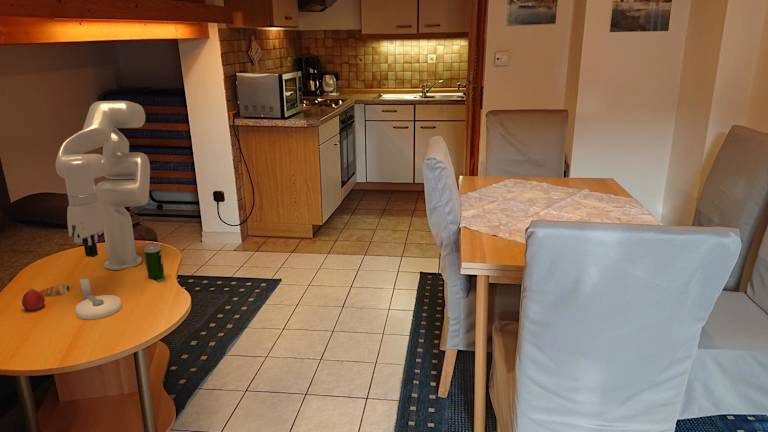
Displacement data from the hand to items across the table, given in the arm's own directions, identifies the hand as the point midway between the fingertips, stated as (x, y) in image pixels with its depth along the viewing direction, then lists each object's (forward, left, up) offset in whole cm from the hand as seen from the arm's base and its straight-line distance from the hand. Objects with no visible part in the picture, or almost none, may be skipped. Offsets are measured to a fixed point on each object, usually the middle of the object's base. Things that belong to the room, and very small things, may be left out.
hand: (92, 255), depth 170 cm
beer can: (-10, +16, -15) cm, 24 cm away
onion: (+5, -17, -15) cm, 23 cm away
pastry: (-5, -13, -15) cm, 21 cm away
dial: (+10, +1, -13) cm, 17 cm away
